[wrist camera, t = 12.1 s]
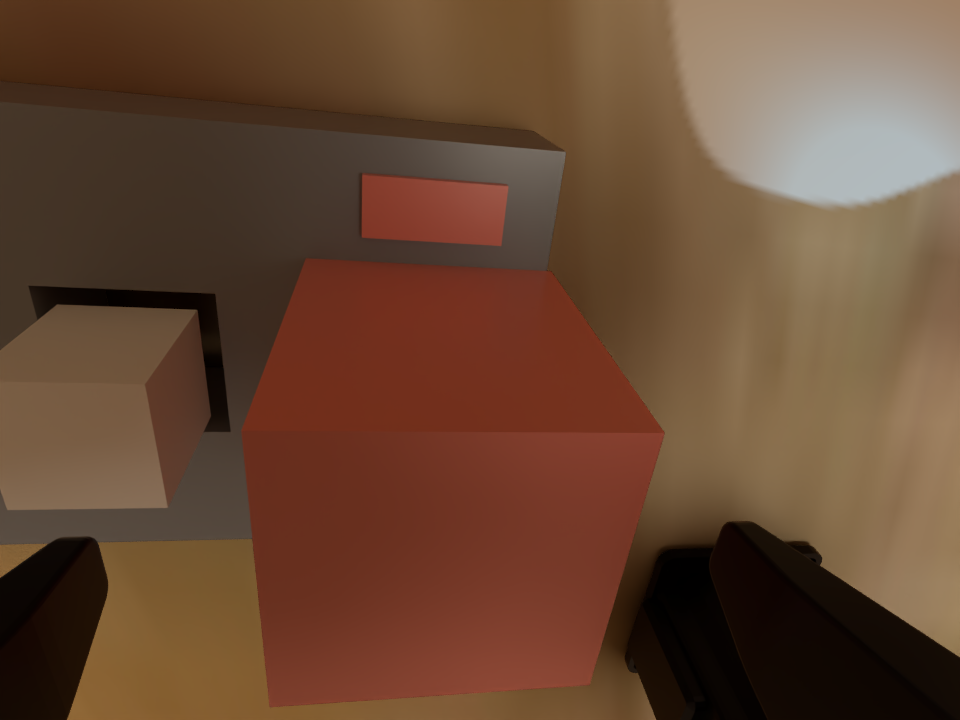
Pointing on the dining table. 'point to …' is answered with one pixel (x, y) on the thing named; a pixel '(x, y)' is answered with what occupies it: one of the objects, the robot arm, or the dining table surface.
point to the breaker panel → (237, 239)
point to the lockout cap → (438, 484)
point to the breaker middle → (101, 408)
